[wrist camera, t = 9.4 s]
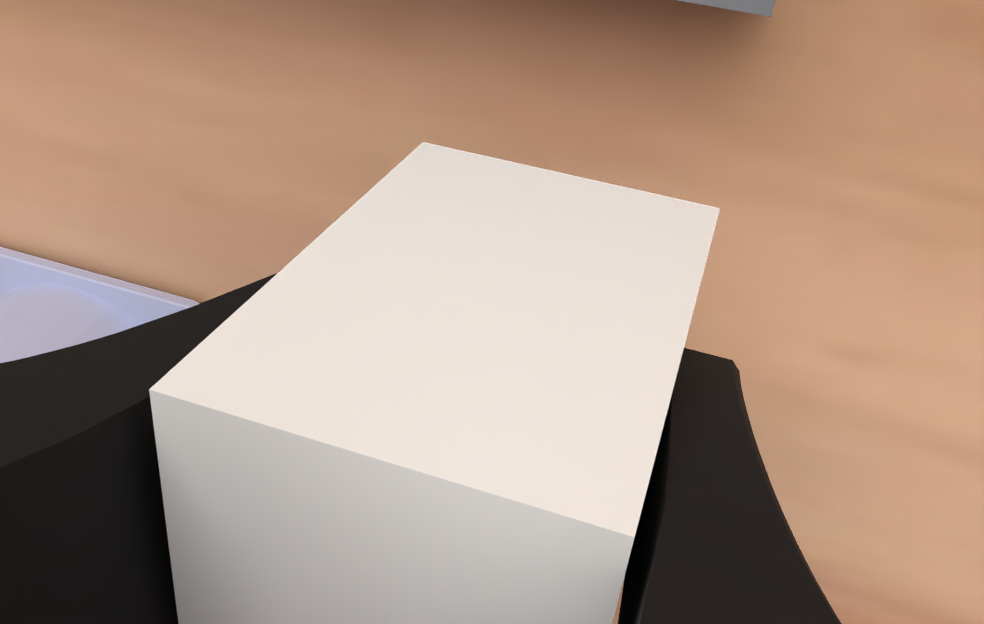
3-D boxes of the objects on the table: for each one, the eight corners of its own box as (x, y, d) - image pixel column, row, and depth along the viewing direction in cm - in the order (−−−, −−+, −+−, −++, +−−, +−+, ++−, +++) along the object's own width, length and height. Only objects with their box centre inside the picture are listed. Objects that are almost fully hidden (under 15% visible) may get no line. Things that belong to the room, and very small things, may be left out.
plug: (656, 449, 14) (556, 835, 9) (407, 379, 14) (187, 694, 10) (720, 208, 11) (634, 536, 7) (422, 141, 12) (148, 390, 7)
